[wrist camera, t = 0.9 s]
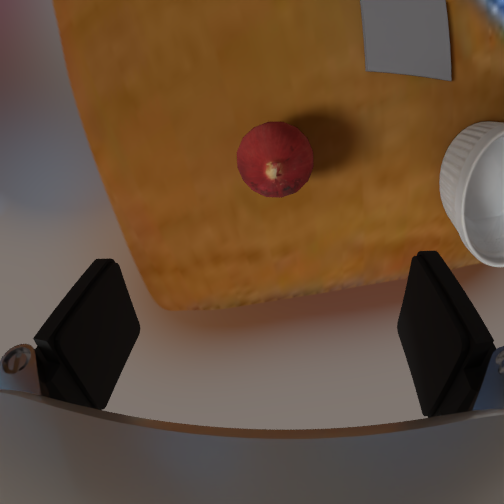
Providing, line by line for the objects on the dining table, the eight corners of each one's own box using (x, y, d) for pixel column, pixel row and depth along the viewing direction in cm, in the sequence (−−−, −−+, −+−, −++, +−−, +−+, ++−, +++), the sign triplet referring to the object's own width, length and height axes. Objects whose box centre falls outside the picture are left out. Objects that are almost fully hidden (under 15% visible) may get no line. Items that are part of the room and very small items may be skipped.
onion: (319, 167, 28) (331, 199, 21) (259, 190, 29) (251, 228, 22) (294, 107, 25) (298, 116, 18) (232, 132, 27) (213, 152, 20)
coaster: (358, -13, 19) (360, -15, 18) (441, 1, 18) (445, -1, 17) (365, 71, 23) (368, 70, 22) (447, 80, 22) (451, 80, 21)
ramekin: (526, 115, 22) (569, 130, 16) (518, 227, 28) (550, 258, 22) (425, 110, 24) (462, 122, 18) (425, 240, 30) (452, 278, 24)
